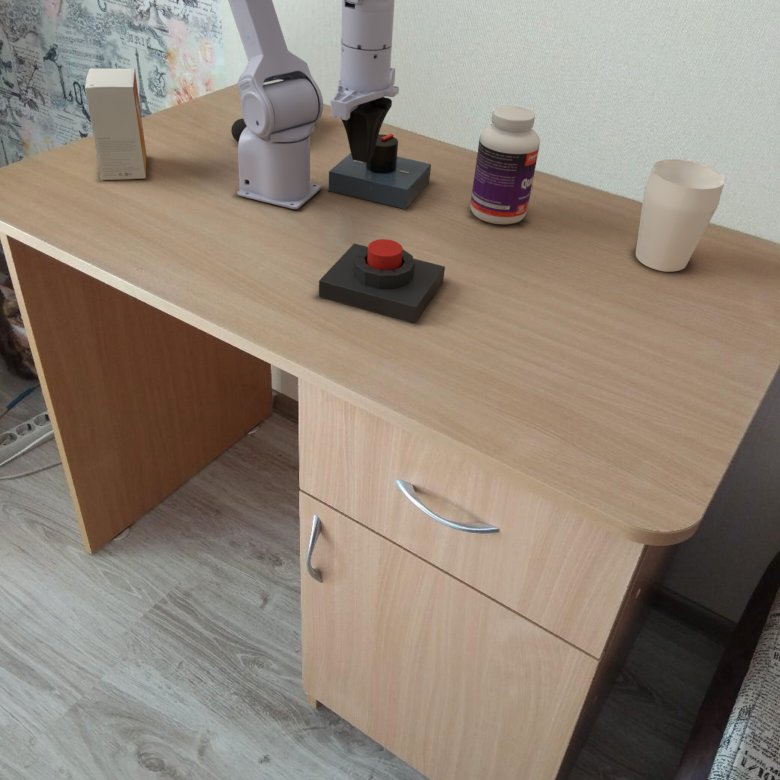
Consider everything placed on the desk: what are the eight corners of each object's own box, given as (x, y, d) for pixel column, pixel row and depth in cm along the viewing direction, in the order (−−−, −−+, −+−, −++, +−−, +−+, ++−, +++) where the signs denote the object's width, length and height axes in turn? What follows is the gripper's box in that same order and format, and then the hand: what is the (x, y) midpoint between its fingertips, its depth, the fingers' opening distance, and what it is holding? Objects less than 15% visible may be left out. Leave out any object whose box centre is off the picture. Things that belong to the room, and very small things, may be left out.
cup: (696, 251, 105) (726, 167, 97) (694, 283, 98) (726, 195, 91) (629, 237, 107) (653, 153, 99) (622, 267, 100) (648, 180, 93)
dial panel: (328, 190, 112) (328, 170, 110) (356, 166, 119) (357, 146, 117) (405, 209, 109) (407, 188, 107) (429, 183, 116) (431, 162, 114)
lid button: (361, 266, 89) (362, 250, 88) (375, 251, 92) (375, 235, 91) (393, 275, 88) (395, 259, 87) (406, 259, 91) (407, 243, 90)
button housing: (318, 296, 90) (318, 266, 88) (353, 258, 98) (354, 229, 95) (415, 323, 87) (418, 293, 85) (443, 282, 95) (447, 253, 92)
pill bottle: (523, 231, 106) (543, 128, 97) (465, 222, 107) (480, 119, 98) (527, 206, 112) (546, 106, 103) (472, 198, 113) (486, 98, 104)
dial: (383, 176, 110) (385, 146, 107) (359, 166, 112) (361, 137, 109) (402, 167, 113) (404, 138, 110) (378, 158, 115) (380, 129, 112)
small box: (147, 179, 111) (133, 86, 103) (100, 181, 110) (83, 87, 101) (147, 156, 117) (135, 67, 109) (103, 157, 116) (87, 67, 108)
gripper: (374, 66, 81) (368, 188, 90) (421, 34, 92) (412, 146, 100) (313, 54, 83) (313, 175, 91) (366, 24, 93) (362, 135, 102)
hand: (361, 159), depth 96 cm, fingers closed
